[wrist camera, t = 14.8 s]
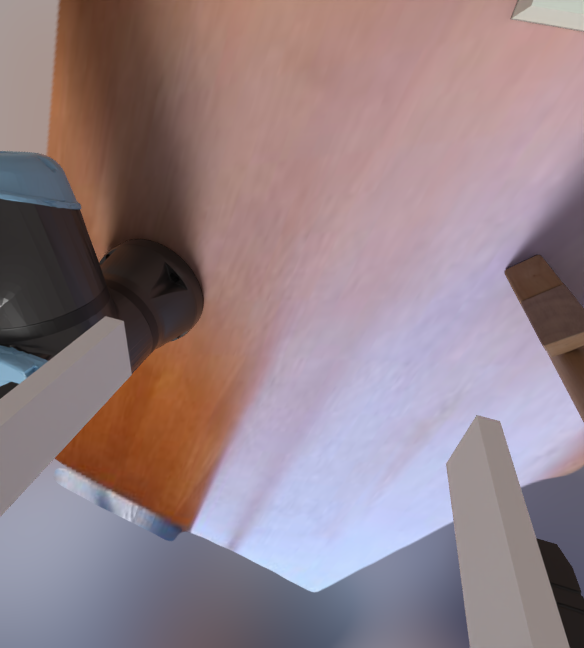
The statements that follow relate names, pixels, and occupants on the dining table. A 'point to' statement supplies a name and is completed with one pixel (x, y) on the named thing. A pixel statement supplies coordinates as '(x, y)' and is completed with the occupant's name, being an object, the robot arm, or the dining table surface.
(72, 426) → the robot arm
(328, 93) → the dining table surface
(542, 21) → the socket block
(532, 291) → the wooden block
